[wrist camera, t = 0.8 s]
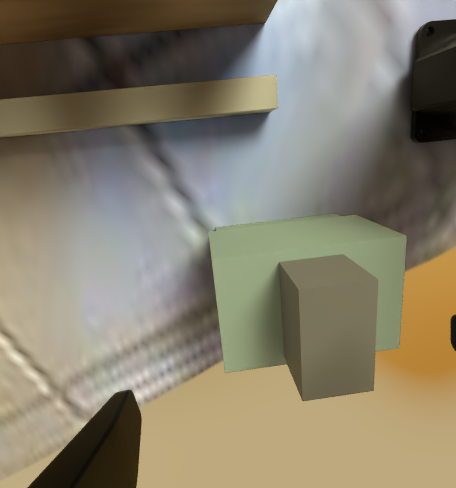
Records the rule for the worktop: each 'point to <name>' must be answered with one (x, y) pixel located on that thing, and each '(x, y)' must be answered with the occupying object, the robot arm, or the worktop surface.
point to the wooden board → (139, 98)
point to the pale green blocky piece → (309, 298)
